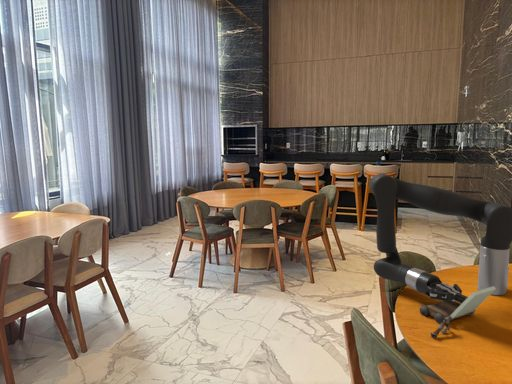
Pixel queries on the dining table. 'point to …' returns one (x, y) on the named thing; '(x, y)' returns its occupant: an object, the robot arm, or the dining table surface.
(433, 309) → the flatbed
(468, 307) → the panel
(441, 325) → the wooden post with brackets
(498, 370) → the dining table surface
